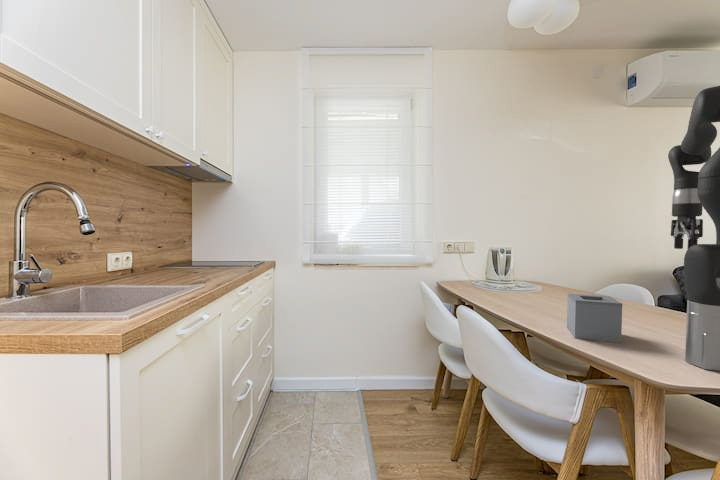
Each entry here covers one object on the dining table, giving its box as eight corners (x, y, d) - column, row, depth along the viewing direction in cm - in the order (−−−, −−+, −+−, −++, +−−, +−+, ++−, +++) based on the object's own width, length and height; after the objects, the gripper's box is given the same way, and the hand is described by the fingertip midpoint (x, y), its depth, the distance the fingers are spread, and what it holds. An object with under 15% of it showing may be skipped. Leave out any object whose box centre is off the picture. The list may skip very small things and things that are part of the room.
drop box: (621, 342, 109) (622, 303, 108) (574, 338, 114) (575, 300, 113) (608, 331, 121) (609, 296, 120) (566, 327, 126) (567, 293, 125)
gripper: (714, 201, 107) (712, 251, 107) (689, 203, 120) (687, 248, 121) (684, 201, 109) (682, 250, 110) (663, 204, 123) (661, 247, 123)
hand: (685, 249), depth 115 cm, fingers open, 8 cm apart
